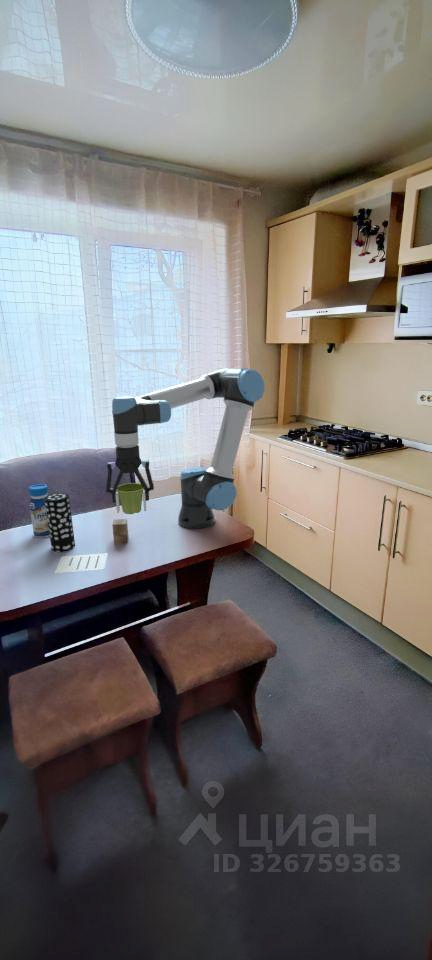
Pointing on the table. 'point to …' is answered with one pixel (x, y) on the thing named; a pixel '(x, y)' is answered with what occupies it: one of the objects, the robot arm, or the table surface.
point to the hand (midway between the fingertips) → (131, 510)
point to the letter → (81, 563)
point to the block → (120, 531)
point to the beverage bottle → (39, 510)
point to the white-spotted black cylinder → (60, 522)
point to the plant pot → (130, 497)
